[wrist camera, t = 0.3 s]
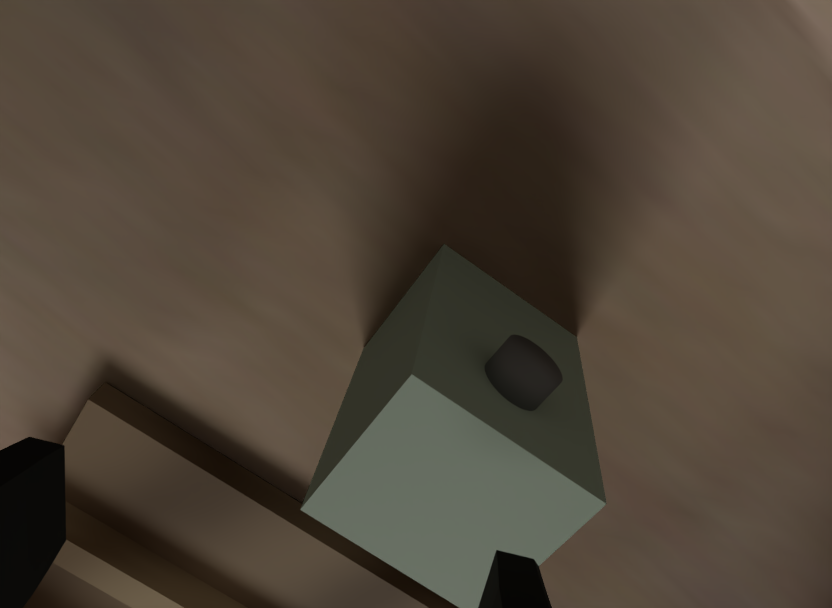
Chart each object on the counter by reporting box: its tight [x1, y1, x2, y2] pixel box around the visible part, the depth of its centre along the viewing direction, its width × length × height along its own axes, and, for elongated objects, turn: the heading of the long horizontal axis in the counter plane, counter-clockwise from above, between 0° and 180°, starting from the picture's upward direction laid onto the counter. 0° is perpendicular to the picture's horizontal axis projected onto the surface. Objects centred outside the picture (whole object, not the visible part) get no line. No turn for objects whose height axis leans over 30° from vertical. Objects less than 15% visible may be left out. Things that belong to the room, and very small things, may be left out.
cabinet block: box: [300, 244, 606, 608], centre depth 17 cm, size 4×5×7 cm
